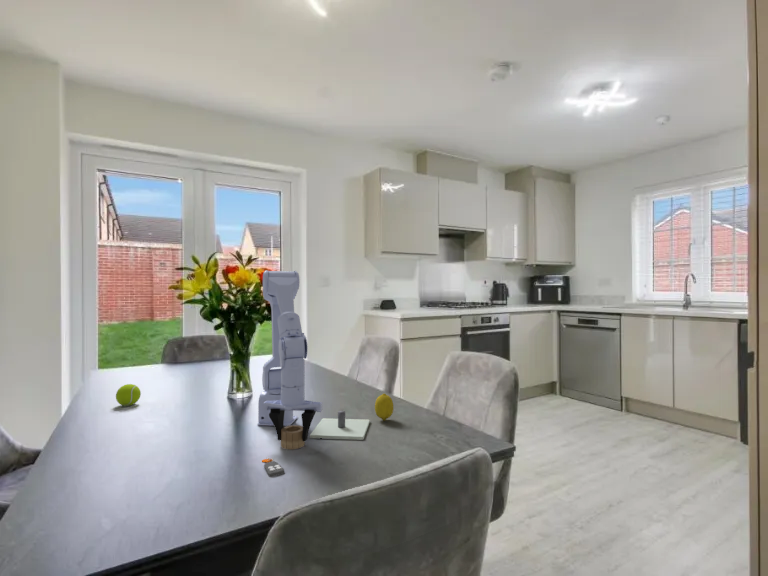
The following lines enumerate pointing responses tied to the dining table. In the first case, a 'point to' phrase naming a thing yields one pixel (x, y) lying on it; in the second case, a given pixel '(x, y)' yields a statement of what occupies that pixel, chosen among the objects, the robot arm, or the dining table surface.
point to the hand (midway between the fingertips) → (292, 439)
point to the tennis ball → (128, 395)
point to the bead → (292, 437)
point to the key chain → (272, 467)
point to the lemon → (384, 407)
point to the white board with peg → (341, 428)
